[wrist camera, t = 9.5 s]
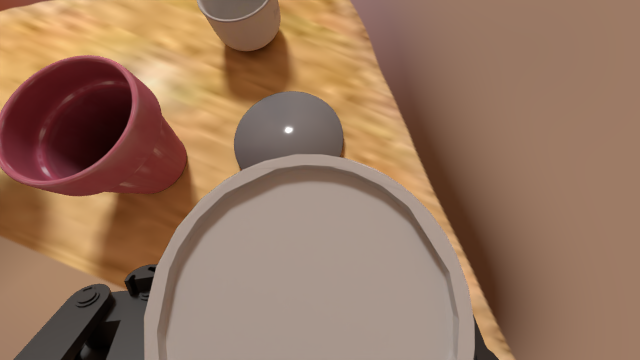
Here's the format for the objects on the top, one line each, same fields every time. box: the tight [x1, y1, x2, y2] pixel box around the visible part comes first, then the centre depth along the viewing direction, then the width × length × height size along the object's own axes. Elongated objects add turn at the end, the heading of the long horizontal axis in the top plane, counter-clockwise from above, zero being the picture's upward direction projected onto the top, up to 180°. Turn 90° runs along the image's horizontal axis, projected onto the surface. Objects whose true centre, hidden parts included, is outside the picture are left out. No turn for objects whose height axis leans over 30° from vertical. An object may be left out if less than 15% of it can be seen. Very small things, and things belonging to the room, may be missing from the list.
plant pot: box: [0, 55, 186, 196], centre depth 30 cm, size 14×14×13 cm
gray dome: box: [234, 91, 343, 170], centre depth 35 cm, size 15×15×1 cm
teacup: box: [197, 0, 280, 51], centre depth 39 cm, size 14×11×8 cm
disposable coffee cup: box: [144, 154, 475, 360], centre depth 12 cm, size 10×10×12 cm
